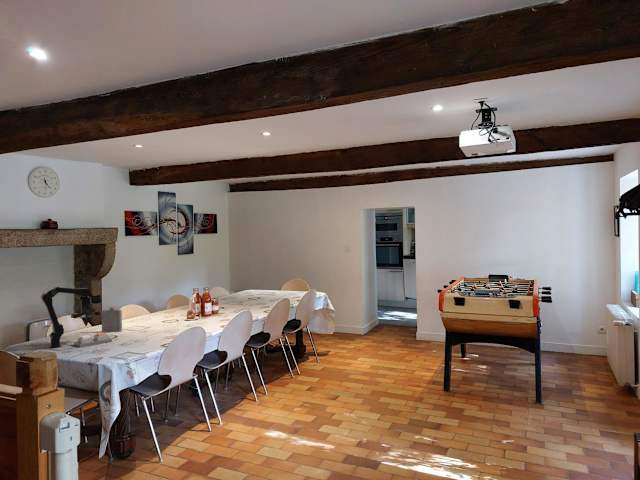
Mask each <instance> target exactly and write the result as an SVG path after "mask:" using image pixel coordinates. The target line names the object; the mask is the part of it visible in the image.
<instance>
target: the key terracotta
mask: <svg viewBox="0 0 640 480" xmlns="http://www.w3.org/2000/svg"><path fill="white" fill-rule="evenodd" d="M106 334H107V332H97V333H96V334H95V335H96V336H104V335H106Z"/></svg>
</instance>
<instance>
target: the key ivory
mask: <svg viewBox="0 0 640 480" xmlns="http://www.w3.org/2000/svg"><path fill="white" fill-rule="evenodd" d="M90 337H91V335H88V334H86V335H80V337H79V338H81V339H87V338H90Z"/></svg>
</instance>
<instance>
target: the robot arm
mask: <svg viewBox="0 0 640 480" xmlns="http://www.w3.org/2000/svg"><path fill="white" fill-rule="evenodd" d="M59 293H61V294H71V295H72V294H73V295H74V294H75V295H79V297H78V298H77V299H78V300H79V301H80V303H81V304H80V305H81V306H80V309H81V312H80V313H77V312H76V313H71V315H70V318H72V319H81V320H82V323H83V324H84V326H85V327H87V326H88V325H89V321H90V319H91V318H92V317H93V315H94V316H101V311H100V310H96V308H91V304H92V305H98V304H101V303H102V297H101V294H96V295H94V294H92V293H91V289H89V288H87V287H81V288H78V287H77V288H72V287H60V286H55V287H53V288H52V289H50V290H48V291H47V292H44V293H42V294H41V295H40V300H41V301H42V303H43V304H44V306H45V307H46V310H47V313H48V316H49V319H50V321H51V326H52V328H51V329H52V332H51V333H50V334H49V338H50V345H49V346H48V347H49V348H51V349H55V348H62V347H63V346H62V344H61V337H62V336H63V335H64V333H65V328H64V325H63V324H62V323H59V320H58V317H57V314H56V312H55V308H54V306H53V298H54V297H55V296H57V294H59Z"/></svg>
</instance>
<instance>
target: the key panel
mask: <svg viewBox="0 0 640 480" xmlns="http://www.w3.org/2000/svg"><path fill="white" fill-rule="evenodd" d="M112 342H113V339H112V338H110V337H109V334H107V333H106V335H104V336H96V334H94V335H93V337H92V336H90V338H87V339H81V338H80V337H78V338H77V341H74V342H73V344H74V346H75V347H78V348H85V347H92V346H96V345H102V344H103V345H104V344H107V343H112Z"/></svg>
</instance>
